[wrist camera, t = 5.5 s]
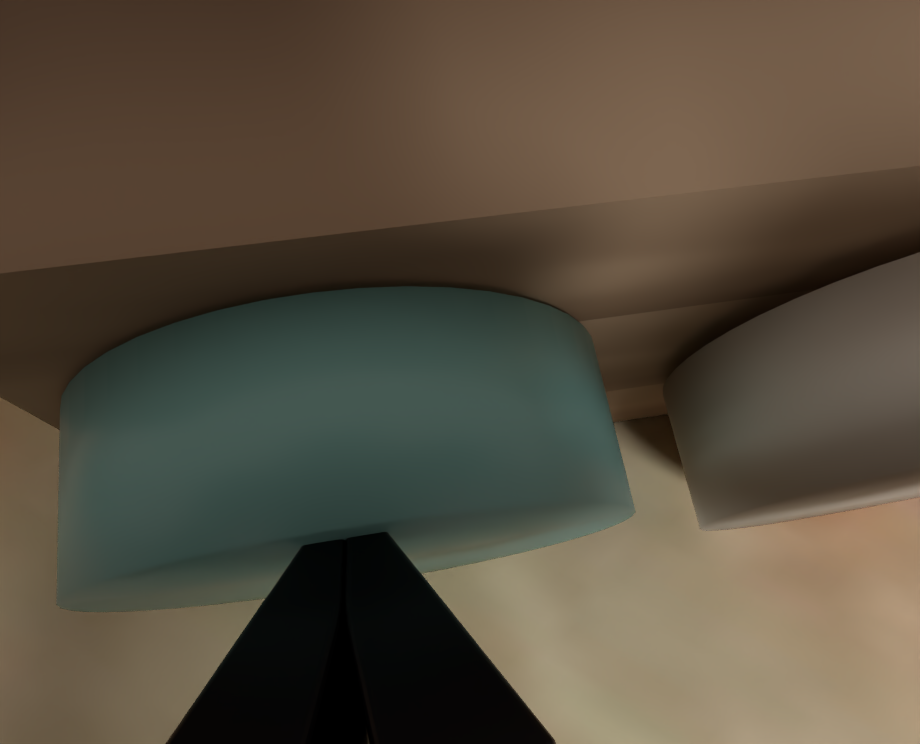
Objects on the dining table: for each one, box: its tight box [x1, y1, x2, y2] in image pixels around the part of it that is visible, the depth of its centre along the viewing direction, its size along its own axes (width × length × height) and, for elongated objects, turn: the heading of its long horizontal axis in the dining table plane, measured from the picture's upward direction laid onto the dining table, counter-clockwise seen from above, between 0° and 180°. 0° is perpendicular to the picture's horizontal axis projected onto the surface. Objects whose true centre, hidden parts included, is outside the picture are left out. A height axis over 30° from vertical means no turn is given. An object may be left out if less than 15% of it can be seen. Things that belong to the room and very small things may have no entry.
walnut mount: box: [0, 0, 920, 531], centre depth 13 cm, size 15×17×9 cm
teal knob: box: [56, 286, 635, 612], centre depth 12 cm, size 13×8×8 cm, turn 10°
